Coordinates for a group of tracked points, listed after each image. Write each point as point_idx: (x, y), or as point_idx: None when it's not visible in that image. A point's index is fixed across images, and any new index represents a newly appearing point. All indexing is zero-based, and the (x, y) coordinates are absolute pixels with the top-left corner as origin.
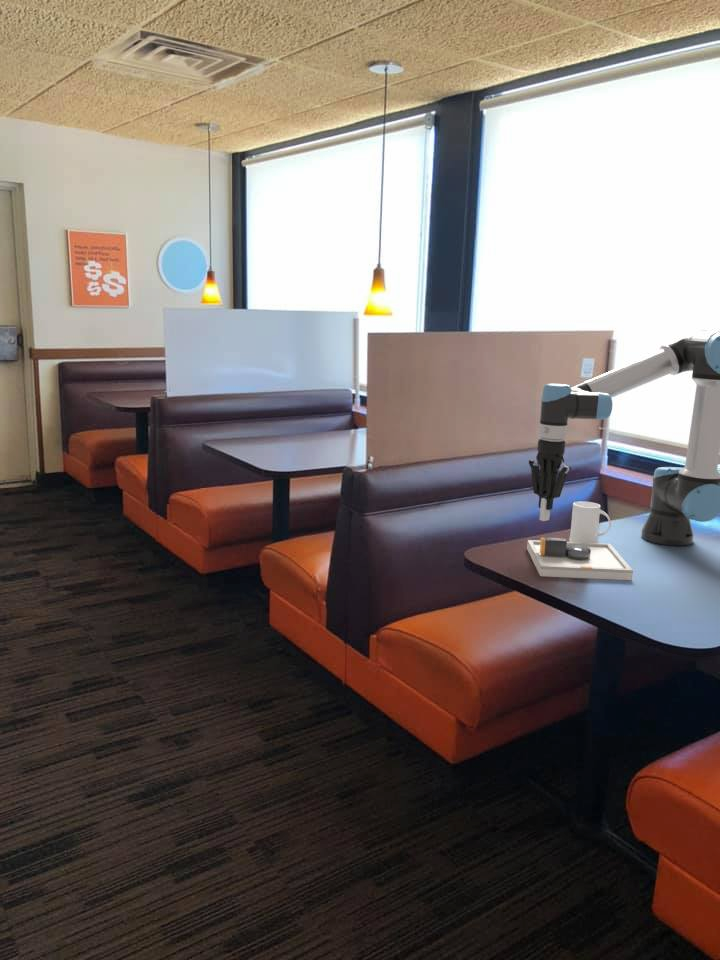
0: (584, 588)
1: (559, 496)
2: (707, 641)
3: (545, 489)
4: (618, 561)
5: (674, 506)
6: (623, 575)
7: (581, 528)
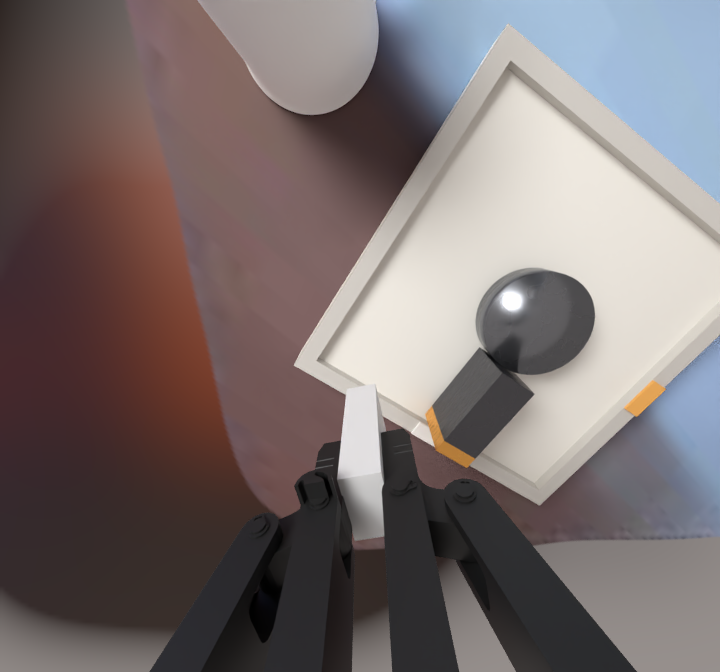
0: (668, 445)
1: (482, 490)
2: None
3: (341, 573)
4: (665, 199)
5: None
6: None
7: (337, 65)
